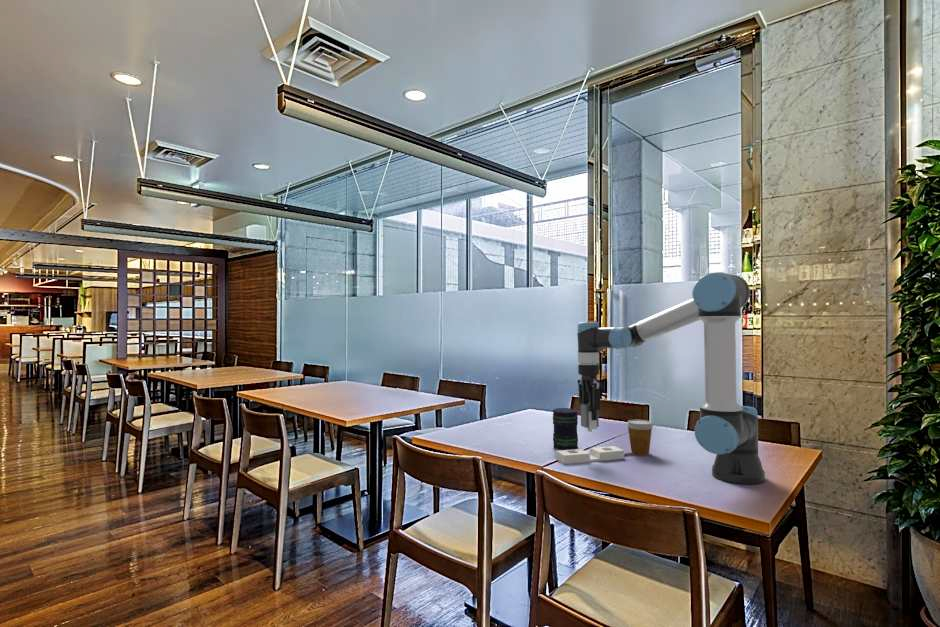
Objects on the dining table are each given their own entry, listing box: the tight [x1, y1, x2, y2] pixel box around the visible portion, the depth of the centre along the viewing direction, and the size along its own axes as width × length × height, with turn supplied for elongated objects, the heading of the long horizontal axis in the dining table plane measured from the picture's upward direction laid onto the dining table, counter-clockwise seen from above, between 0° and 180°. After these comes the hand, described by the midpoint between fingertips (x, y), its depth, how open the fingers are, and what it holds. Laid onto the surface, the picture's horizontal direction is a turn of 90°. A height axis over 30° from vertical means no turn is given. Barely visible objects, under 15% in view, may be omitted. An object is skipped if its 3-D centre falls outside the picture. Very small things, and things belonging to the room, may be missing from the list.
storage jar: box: [552, 407, 579, 451], centre depth 206 cm, size 10×10×15 cm
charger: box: [580, 403, 600, 433], centre depth 189 cm, size 4×5×10 cm
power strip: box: [555, 445, 635, 465], centre depth 189 cm, size 7×30×3 cm, turn 106°
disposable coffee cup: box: [626, 419, 654, 456], centre depth 196 cm, size 10×10×12 cm
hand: (589, 427), depth 189 cm, fingers closed on charger, 4 cm apart
